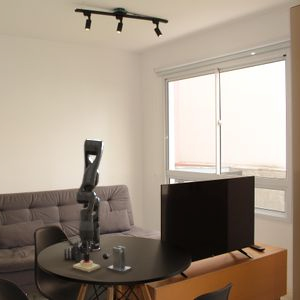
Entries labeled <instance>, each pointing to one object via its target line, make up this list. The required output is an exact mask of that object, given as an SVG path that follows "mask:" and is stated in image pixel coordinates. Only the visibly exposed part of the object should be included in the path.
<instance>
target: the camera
mask: <svg viewBox="0 0 300 300" xmlns="http://www.w3.org/2000/svg"><path fill="white" fill-rule="evenodd" d="M80 241H81V239H80V240H77V241H76V242H74V243H73V245H72V246H71V247H65V248H64V253H63V255H64V259H65V260H69V261H70V260H75V261H76V262H81V261H82V260H83V257H84V254H81V252H80V251H79V249H78V248H77V246H78V245H80Z"/></svg>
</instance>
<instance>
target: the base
mask: <svg viewBox="0 0 300 300" xmlns="http://www.w3.org/2000/svg"><path fill="white" fill-rule="evenodd" d="M119 248H122V251H123V252H122V253H121V249H119ZM112 253H113V255H112V265H110V266H107V267H106V269H109V270H113V271H115V272H116V271H117V272H119V273H120V272H121V273H124V272H126V271H129V270H131V269H132V267H131V266H127V265H126V247H125V246H121V245H117V246H116V247H112Z"/></svg>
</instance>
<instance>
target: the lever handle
mask: <svg viewBox="0 0 300 300" xmlns="http://www.w3.org/2000/svg"><path fill="white" fill-rule="evenodd" d="M119 249H121V253H122V252H123V251H122V248H119ZM111 256H113V252H110V253H103V254H102V259H104V260H106V261H107V260H108V259H109V257H111Z"/></svg>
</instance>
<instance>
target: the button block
mask: <svg viewBox="0 0 300 300" xmlns="http://www.w3.org/2000/svg"><path fill="white" fill-rule="evenodd" d="M83 261H84V259H82V261H79V262H78V263H75V264H73V266H72V267H73V269H77V270H81V271H84V272H88V273H90V272H92V271H95V270H97V269H100V268H101V265H100V264H97V263H94V261H93V260H91V259H89V261H90V262H89V263H84V262H83Z"/></svg>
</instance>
